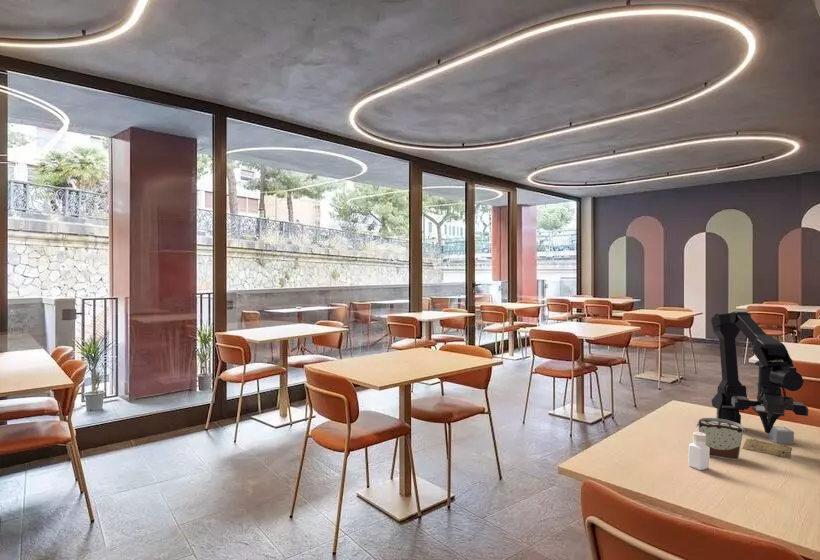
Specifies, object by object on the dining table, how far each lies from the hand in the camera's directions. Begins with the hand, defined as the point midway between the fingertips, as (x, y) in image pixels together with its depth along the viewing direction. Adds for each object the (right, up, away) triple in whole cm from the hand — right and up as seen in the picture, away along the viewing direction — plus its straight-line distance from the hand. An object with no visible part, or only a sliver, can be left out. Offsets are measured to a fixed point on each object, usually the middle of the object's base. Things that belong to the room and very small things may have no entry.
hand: (767, 432), depth 155 cm
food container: (-19, -5, -5) cm, 20 cm away
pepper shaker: (-30, -5, -16) cm, 34 cm away
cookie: (0, -5, 0) cm, 5 cm away
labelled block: (+9, -5, +7) cm, 13 cm away
